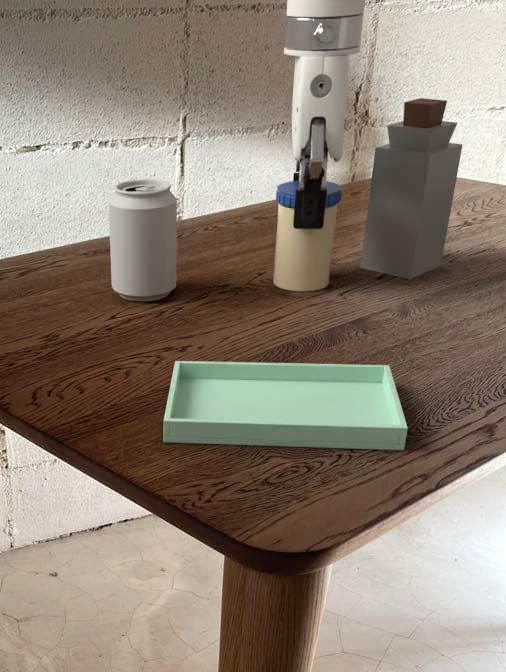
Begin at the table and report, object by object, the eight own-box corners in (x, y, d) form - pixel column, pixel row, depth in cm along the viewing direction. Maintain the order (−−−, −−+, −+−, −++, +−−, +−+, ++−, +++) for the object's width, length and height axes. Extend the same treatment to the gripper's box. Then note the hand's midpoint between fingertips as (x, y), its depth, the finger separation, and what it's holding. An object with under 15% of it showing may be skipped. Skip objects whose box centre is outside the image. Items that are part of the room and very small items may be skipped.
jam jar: (327, 273, 104) (336, 183, 98) (330, 291, 99) (340, 198, 93) (272, 273, 105) (278, 184, 99) (273, 291, 100) (279, 198, 94)
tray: (386, 385, 78) (389, 364, 77) (404, 450, 69) (407, 427, 67) (175, 380, 81) (175, 360, 80) (163, 442, 71) (163, 420, 70)
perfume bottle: (410, 279, 101) (437, 108, 91) (360, 267, 105) (381, 103, 95) (440, 265, 105) (470, 99, 94) (391, 254, 109) (414, 94, 99)
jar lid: (338, 192, 99) (339, 179, 98) (343, 208, 93) (344, 195, 92) (275, 193, 100) (276, 180, 99) (276, 209, 94) (277, 195, 93)
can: (149, 277, 106) (147, 172, 99) (189, 292, 100) (191, 183, 94) (99, 292, 102) (94, 184, 95) (138, 308, 97) (136, 196, 90)
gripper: (370, 44, 80) (346, 241, 90) (353, 26, 94) (335, 198, 104) (286, 47, 81) (273, 241, 91) (283, 29, 95) (271, 199, 105)
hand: (306, 217), depth 98 cm, fingers closed on jar lid, 6 cm apart
